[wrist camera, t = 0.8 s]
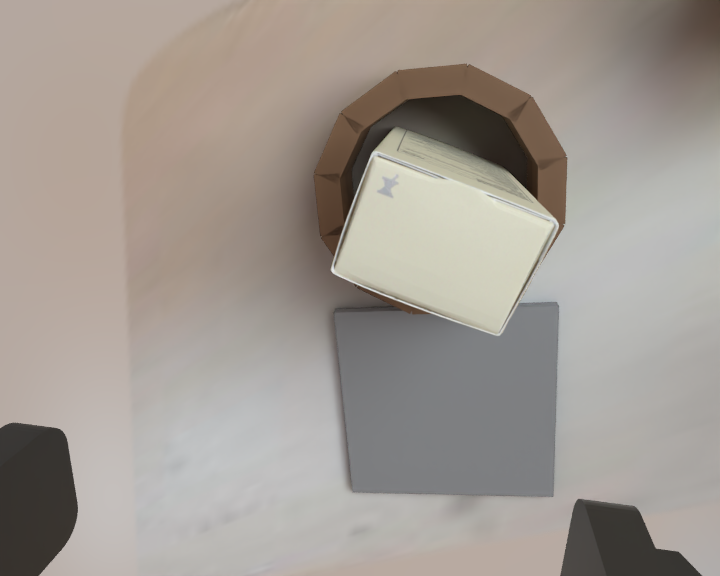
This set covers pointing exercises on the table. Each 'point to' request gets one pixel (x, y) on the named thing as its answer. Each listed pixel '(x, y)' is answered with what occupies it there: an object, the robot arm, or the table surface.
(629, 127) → the table surface
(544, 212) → the skincare box
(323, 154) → the holder ring
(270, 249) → the table surface
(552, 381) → the mat
